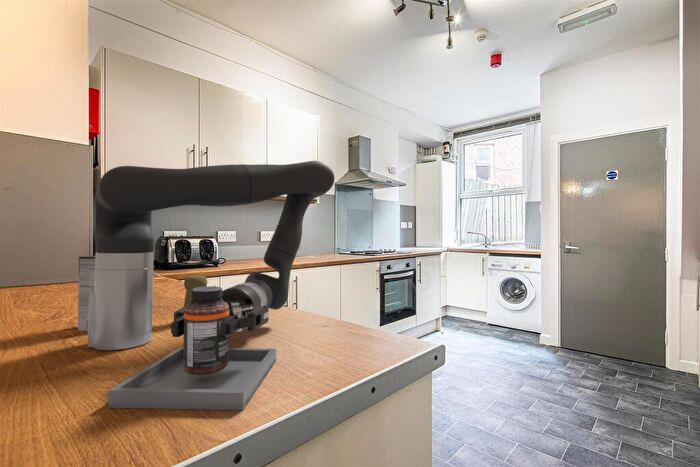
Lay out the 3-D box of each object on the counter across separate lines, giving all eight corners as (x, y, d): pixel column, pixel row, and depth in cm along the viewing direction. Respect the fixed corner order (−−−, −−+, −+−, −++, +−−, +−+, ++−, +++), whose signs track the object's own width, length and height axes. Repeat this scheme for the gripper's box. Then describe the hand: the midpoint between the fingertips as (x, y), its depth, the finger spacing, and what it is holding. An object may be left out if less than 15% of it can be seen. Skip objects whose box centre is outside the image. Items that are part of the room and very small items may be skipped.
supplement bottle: (192, 360, 50) (193, 285, 50) (233, 360, 51) (234, 284, 51) (175, 377, 44) (176, 291, 44) (221, 376, 45) (222, 291, 45)
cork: (201, 324, 79) (202, 277, 79) (176, 324, 79) (177, 276, 79) (212, 318, 85) (213, 274, 85) (188, 318, 85) (189, 274, 85)
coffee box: (113, 320, 81) (115, 254, 82) (136, 322, 80) (138, 254, 80) (76, 330, 72) (78, 255, 73) (100, 332, 71) (102, 256, 71)
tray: (108, 407, 40) (108, 390, 40) (179, 359, 56) (179, 347, 56) (243, 410, 39) (243, 393, 39) (275, 361, 55) (276, 348, 55)
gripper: (203, 283, 62) (146, 301, 45) (280, 284, 62) (252, 302, 45) (202, 324, 62) (145, 357, 45) (280, 325, 62) (251, 359, 45)
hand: (199, 330), depth 45 cm, fingers closed on supplement bottle, 6 cm apart
